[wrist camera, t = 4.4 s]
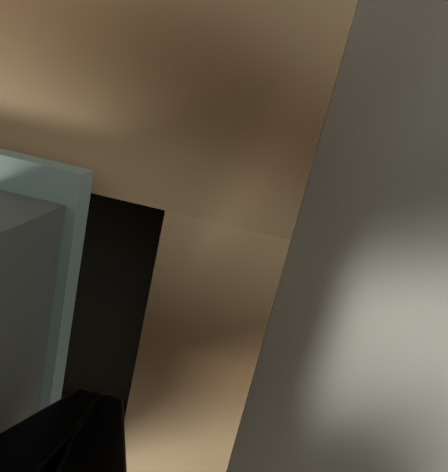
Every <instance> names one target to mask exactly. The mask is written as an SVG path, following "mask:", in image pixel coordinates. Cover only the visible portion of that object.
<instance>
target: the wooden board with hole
mask: <svg viewBox="0 0 448 472" xmlns="http://www.w3.org/2000/svg"><path fill="white" fill-rule="evenodd" d="M357 4H358V0H0V148H2V149H6V150H10V151H15V152H19V153H23V154H27V155H31V156H36V157H40V158H44V159H48V160H53V161H57V162H61V163H65V164H69V165H74V166H78V167H82V168H86V169H91V170H94V175H93V182H92V189H91V193H93V194H98V195H102V196H106V197H110V198H114V199H119V200H123V201H127V202H131V203H136V204H140V205H144V206H148V207H152V208H157V209H161V210H165V214H164V219H163V224H162V229H161V234H160V239H159V244H158V250H157V255H156V260H155V265H154V270H153V275H152V280H151V286H150V291H149V296H148V301H147V306H146V311H145V316H144V322H143V327H142V332H141V337H140V342H139V347H138V352H137V358H136V363H135V368H134V373H133V378H132V383H131V388H130V393H129V399H128V404H127V409H126V414H125V419H124V423H125V444H126V464H127V472H226V471H227V467H228V464H229V460H230V456H231V453H232V449H233V446H234V442H235V439H236V435H237V431H238V428H239V424H240V421H241V417H242V414H243V410H244V406H245V403H246V399H247V396H248V392H249V389H250V385H251V382H252V378H253V374H254V371H255V367H256V364H257V360H258V357H259V353H260V349H261V346H262V342H263V339H264V335H265V332H266V328H267V324H268V321H269V317H270V314H271V310H272V307H273V303H274V300H275V296H276V292H277V289H278V285H279V282H280V278H281V275H282V271H283V267H284V264H285V260H286V257H287V253H288V250H289V246H290V242H291V239H292V235H293V232H294V228H295V225H296V221H297V217H298V214H299V210H300V207H301V203H302V200H303V196H304V193H305V189H306V185H307V182H308V178H309V175H310V171H311V168H312V164H313V160H314V157H315V153H316V150H317V146H318V143H319V139H320V135H321V132H322V128H323V125H324V121H325V118H326V114H327V111H328V107H329V103H330V100H331V96H332V93H333V89H334V86H335V82H336V78H337V75H338V71H339V68H340V64H341V61H342V57H343V53H344V50H345V46H346V43H347V39H348V36H349V32H350V29H351V25H352V21H353V18H354V14H355V11H356V7H357Z"/></svg>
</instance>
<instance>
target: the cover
mask: <svg viewBox="0 0 448 472" xmlns="http://www.w3.org/2000/svg"><path fill="white" fill-rule="evenodd" d="M93 175H94V170H91V169H86V168H82V167H78V166H74V165H69V164H65V163H61V162H57V161H53V160H48V159H44V158H40V157H36V156H31V155H27V154H23V153H19V152H15V151H10V150H6V149H2V148H0V433H1V432H3V431H5V430H6V429H8V428H10V427H12V426H14V425H15V424H17V423H19V422H21V421H22V420H24V419H26V418H28V417H29V416H31V415H33V414H35V413H36V412H38V411H40V410H42V409H44V408H45V407H47V406H49V405H51V404H52V403H54V402H56V401H58V400H59V399H61V395H62V388H63V381H64V374H65V368H66V361H67V354H68V347H69V340H70V333H71V326H72V320H73V313H74V306H75V299H76V292H77V285H78V278H79V271H80V265H81V258H82V251H83V244H84V237H85V230H86V223H87V216H88V210H89V203H90V196H91V189H92V182H93Z"/></svg>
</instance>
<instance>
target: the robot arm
mask: <svg viewBox="0 0 448 472" xmlns="http://www.w3.org/2000/svg"><path fill="white" fill-rule="evenodd" d="M0 472H127V464H126V444H125V423H124V402H123V399H122V398H119V397H115V396H111V395H107V394H102V395H101V394H100V393H99V392H95V391H91V390H87V389H82V388H81V389H77V390H75V391H74V392H72V393H70V394H68V395H67V396H65V397H63V398H61V399H59V400H58V401H56V402H54V403H52V404H51V405H49V406H47V407H45V408H44V409H42V410H40V411H38V412H36V413H35V414H33V415H31V416H29V417H28V418H26V419H24V420H22V421H21V422H19V423H17V424H15V425H14V426H12V427H10V428H8V429H6V430H5V431H3V432H1V433H0Z"/></svg>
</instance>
